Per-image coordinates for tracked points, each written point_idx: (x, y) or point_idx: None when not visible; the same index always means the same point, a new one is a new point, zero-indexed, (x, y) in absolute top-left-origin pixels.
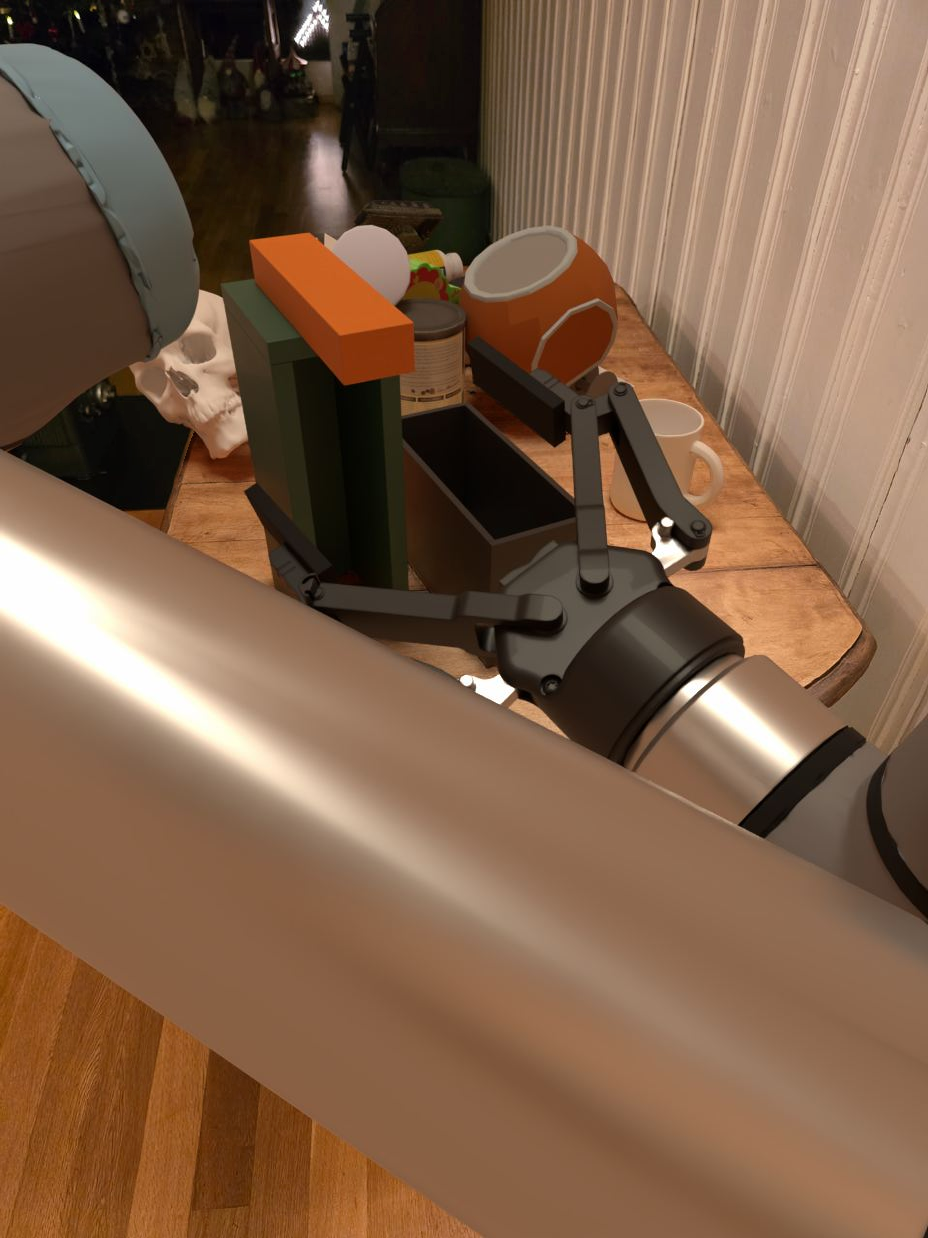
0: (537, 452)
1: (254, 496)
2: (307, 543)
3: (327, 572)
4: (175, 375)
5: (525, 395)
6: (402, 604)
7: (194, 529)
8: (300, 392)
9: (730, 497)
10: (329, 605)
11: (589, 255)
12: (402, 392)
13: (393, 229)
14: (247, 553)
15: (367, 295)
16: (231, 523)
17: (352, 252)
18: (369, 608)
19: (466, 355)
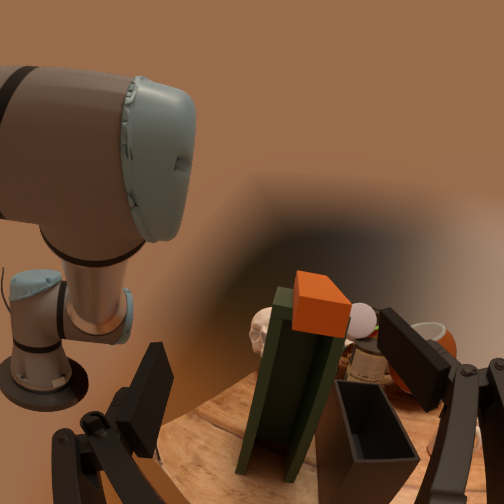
0: (403, 417)
1: (151, 348)
2: (137, 395)
3: (125, 425)
4: (265, 336)
5: (415, 356)
6: (137, 499)
7: (234, 393)
8: (295, 348)
9: (477, 454)
10: (95, 447)
11: (449, 336)
12: (354, 374)
13: (377, 319)
14: (247, 413)
15: (334, 291)
16: (251, 398)
17: (354, 311)
18: (112, 477)
19: (388, 369)
